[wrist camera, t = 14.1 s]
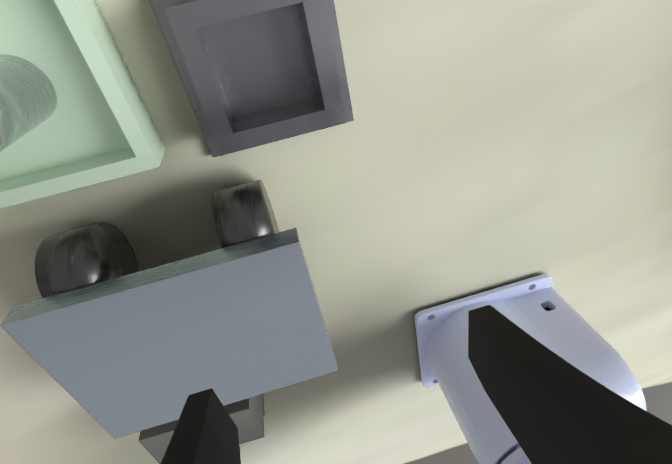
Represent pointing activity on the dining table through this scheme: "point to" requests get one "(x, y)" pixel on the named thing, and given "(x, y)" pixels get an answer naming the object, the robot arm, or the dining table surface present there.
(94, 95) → the tray
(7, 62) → the pin
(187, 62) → the pin socket
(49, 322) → the trolley
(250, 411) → the block
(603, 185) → the dining table surface
